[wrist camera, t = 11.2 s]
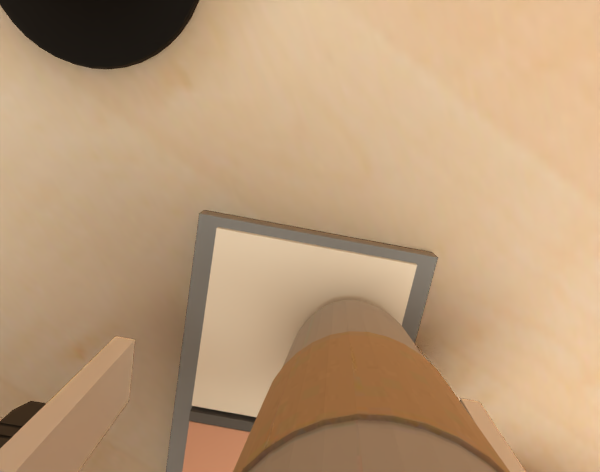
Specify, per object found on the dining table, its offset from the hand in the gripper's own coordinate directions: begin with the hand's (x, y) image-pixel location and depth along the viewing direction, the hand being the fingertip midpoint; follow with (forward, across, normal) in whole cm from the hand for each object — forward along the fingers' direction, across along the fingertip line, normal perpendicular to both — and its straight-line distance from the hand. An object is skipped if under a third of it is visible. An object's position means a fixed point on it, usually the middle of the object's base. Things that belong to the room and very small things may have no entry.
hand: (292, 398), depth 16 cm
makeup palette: (+6, 0, -6) cm, 8 cm away
